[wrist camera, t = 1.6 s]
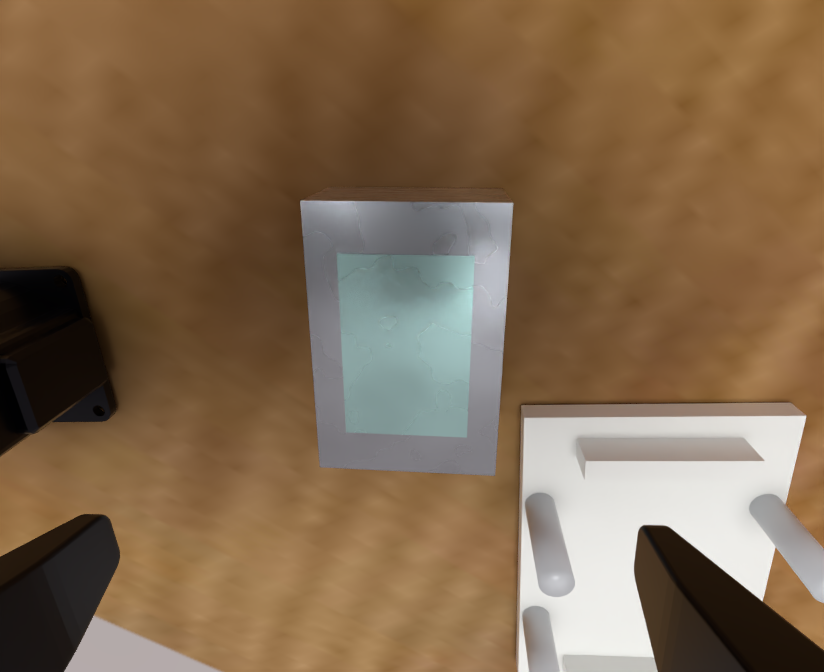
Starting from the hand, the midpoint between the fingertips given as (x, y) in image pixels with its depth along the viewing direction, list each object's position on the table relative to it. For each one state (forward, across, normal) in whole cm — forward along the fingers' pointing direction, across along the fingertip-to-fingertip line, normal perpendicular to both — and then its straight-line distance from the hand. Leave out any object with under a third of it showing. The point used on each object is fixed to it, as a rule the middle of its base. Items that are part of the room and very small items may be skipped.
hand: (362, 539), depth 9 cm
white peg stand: (+12, -9, +11) cm, 19 cm away
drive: (+12, 0, 0) cm, 12 cm away
